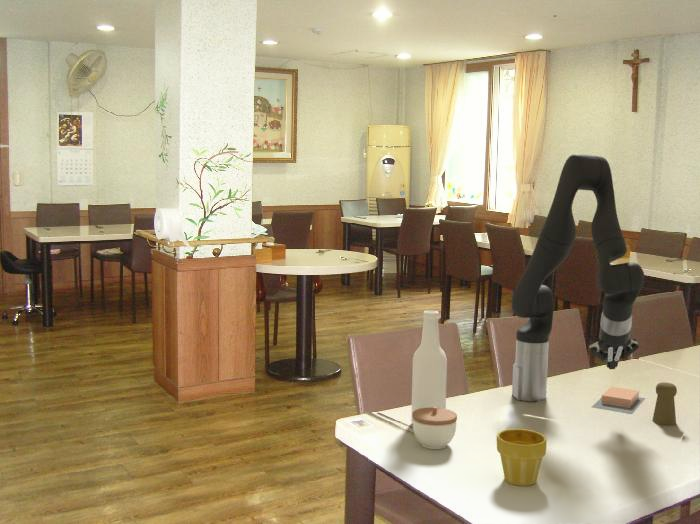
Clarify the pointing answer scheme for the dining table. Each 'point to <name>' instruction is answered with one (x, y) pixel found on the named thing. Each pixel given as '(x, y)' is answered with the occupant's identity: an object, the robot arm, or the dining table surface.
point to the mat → (618, 408)
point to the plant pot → (521, 455)
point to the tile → (620, 397)
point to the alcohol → (429, 367)
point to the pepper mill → (665, 404)
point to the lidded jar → (434, 426)
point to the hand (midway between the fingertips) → (611, 366)
